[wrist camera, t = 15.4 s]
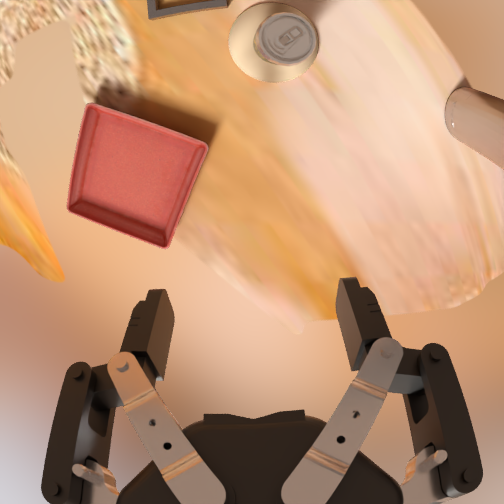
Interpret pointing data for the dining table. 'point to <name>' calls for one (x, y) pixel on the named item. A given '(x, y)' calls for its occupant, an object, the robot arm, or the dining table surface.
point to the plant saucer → (132, 174)
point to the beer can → (284, 39)
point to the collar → (182, 8)
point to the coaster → (244, 49)
